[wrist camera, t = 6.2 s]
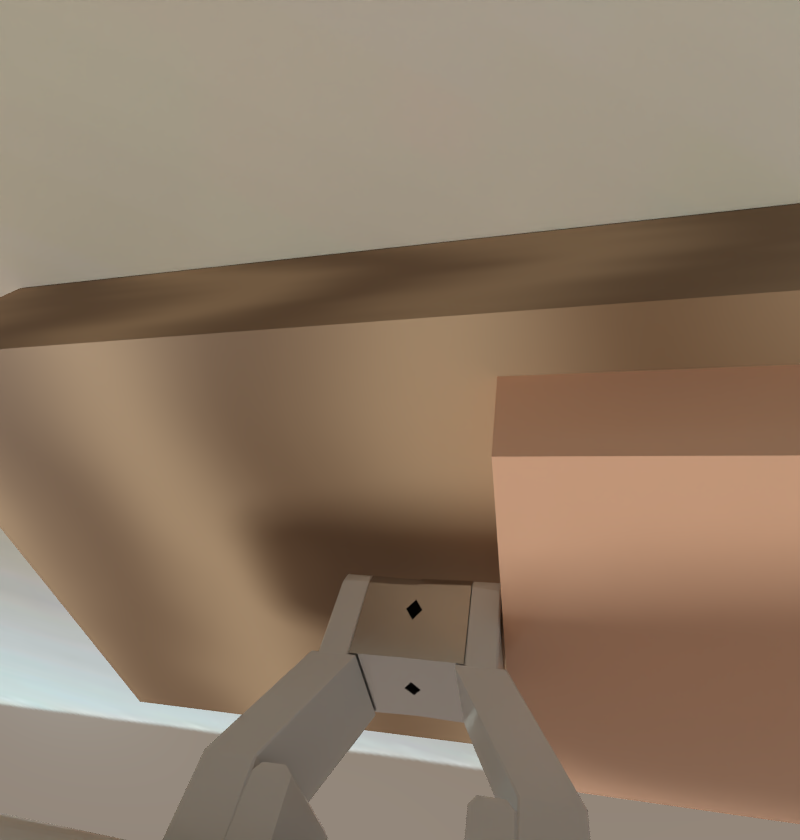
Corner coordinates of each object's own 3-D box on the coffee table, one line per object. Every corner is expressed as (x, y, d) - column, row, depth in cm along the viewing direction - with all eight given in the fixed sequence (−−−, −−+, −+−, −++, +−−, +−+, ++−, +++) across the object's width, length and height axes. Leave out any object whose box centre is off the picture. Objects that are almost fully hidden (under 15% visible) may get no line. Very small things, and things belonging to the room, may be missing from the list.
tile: (978, 356, 7) (1128, 454, 5) (793, 720, 11) (838, 829, 10) (497, 376, 8) (490, 456, 6) (515, 692, 13) (514, 783, 11)
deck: (810, 202, 9) (963, 278, 6) (697, 635, 16) (741, 777, 13) (19, 288, 14) (-136, 359, 10) (199, 601, 21) (140, 701, 17)
